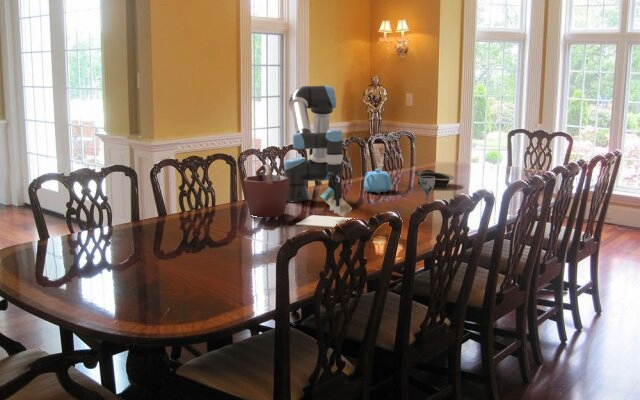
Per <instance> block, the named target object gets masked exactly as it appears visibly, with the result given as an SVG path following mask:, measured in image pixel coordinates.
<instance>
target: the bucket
mask: <svg viewBox="0 0 640 400" xmlns="http://www.w3.org/2000/svg"><path fill="white" fill-rule="evenodd" d="M264 170H265V174H262V172H263V171H264ZM289 184H290V183H289V178H288V177H285V175H281V174H278V175H277V174H273V171H272V166H271V165H270V164H262V165H260V167H259V168H258V169H256V170H255V175H250V176H245V178H244V179H243V188H244V193H245V197H246V201H247V206H248V210H249V211H248V212H249V215H253V216H257V217H277V218H279V216H280V217H282V216H284V215H285V212H286V206H287V202H286V201H287V195H288V190H289ZM283 214H284V215H283ZM281 215H282V216H281Z"/></svg>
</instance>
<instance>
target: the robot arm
mask: <svg viewBox="0 0 640 400" xmlns="http://www.w3.org/2000/svg"><path fill="white" fill-rule="evenodd" d="M288 105H289V106H288V107H289V109H290V111H291V112H292V118H293V124H294V130H295V133H293V134H292V147H293V148H294V150H295V149H296V150H311V149H312V153H311V154H310V156H309V159H306V158H305V157H303V156H302V157H292V158H288V159H287V160H285V161H284V167H283V171H284V176H285V177H288V178H289V183H290V184H289V190H288V195H287V201H293V202H292V203H301V202H300V201H305V202H307V201H306V200H308V201H309V200H310V195H309V193H308V192H309V191H308V188H307V185H306V184H307V182H319V181H320V182H323V181H328V183H327V185H328V186H327V188H328V187H330V188H331V189H333V190H334V196H335V198H334V199H333V200H334V209H333V208H332V207H331V206H330V205H329V211H333V214H338V213H340V199H341V198H342V199H343V197H342V177H341V175H340V173H341V172H343V170H344V169H343V168H344V167H343V166H344V165H343V158H344V157H345V156H344V155H343V139H344V137H343V131H342V130H341V129H330V121H331V120H330V117H331V114H332V113H333V112H334V109H336V108H337V98H336V92H335V89H334V87H333V86H331V85H302V86H301V87H300V86H299V87H298V88H297V89H296V90H294V91H293V92H292V94H291V95H290V97H289V101H288ZM308 109H310V112H311V114H313V127H312V128H313V129H312V128H311V125H310V118H309V113H308V112H309V111H308ZM312 131H313V132H312Z"/></svg>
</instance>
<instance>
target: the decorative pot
mask: <svg viewBox="0 0 640 400" xmlns="http://www.w3.org/2000/svg"><path fill="white" fill-rule="evenodd" d="M391 176H392V175H390V174H389V172H388V171H383V170H381V168H375V169H374V170H373V171H367V172H366V173H365V174H364V181H363V189H364V190H365V191H367V193H373V192H374V193H375V194H377V193H378V195H379V194H381V192H382V193H388V191H390V190H391V189H392V186H393V185H392V177H391Z"/></svg>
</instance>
